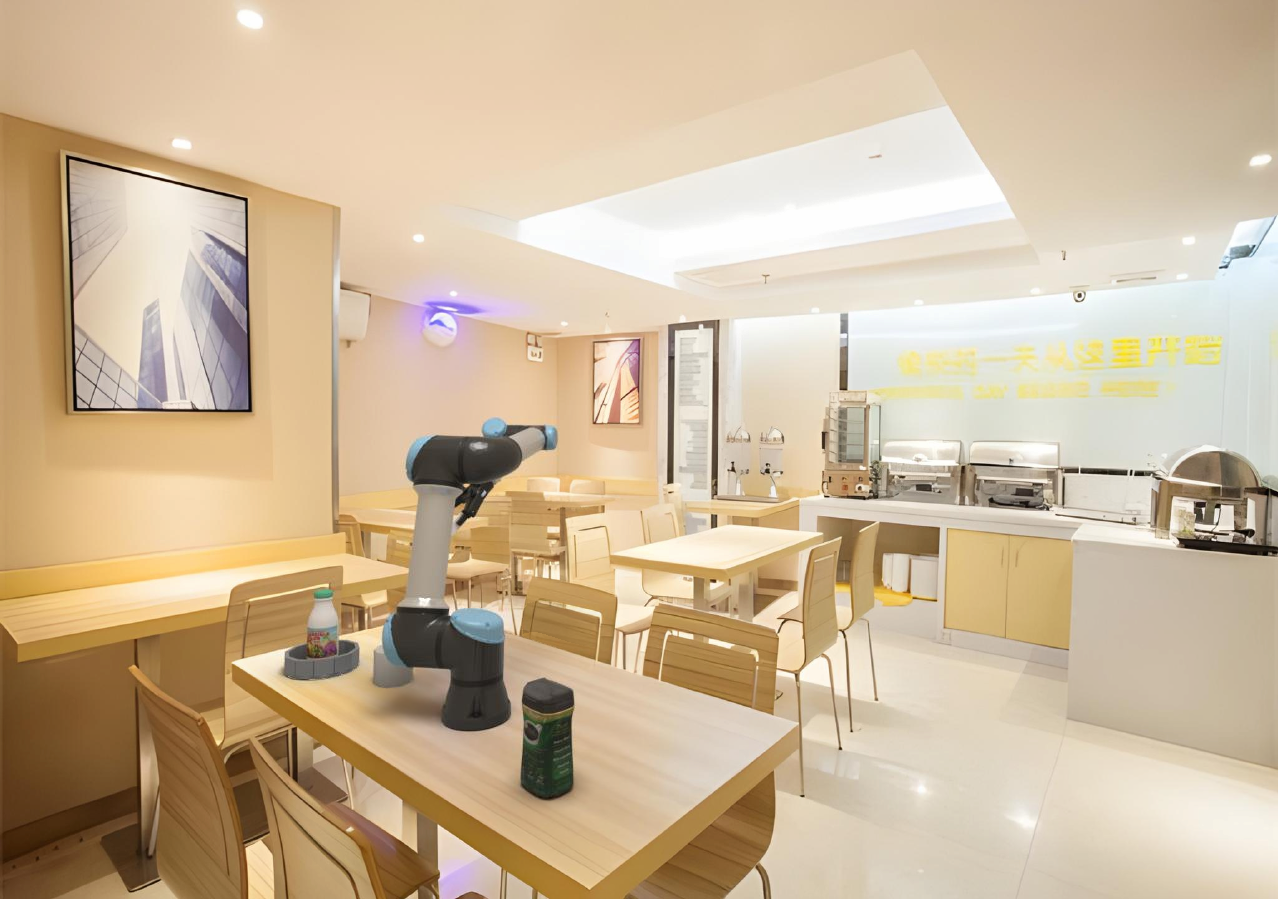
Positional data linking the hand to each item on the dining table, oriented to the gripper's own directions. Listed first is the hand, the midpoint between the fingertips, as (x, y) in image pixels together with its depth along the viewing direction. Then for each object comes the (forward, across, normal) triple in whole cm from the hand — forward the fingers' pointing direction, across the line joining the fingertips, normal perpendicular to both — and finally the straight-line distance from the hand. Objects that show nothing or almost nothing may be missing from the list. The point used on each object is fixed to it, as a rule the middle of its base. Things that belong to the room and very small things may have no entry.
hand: (438, 530), depth 188 cm
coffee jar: (+37, -83, -14) cm, 92 cm away
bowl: (+46, +6, -4) cm, 47 cm away
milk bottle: (+46, +6, -4) cm, 46 cm away
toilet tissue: (+38, -14, -13) cm, 43 cm away
